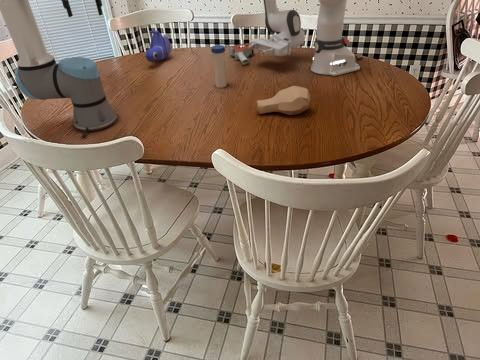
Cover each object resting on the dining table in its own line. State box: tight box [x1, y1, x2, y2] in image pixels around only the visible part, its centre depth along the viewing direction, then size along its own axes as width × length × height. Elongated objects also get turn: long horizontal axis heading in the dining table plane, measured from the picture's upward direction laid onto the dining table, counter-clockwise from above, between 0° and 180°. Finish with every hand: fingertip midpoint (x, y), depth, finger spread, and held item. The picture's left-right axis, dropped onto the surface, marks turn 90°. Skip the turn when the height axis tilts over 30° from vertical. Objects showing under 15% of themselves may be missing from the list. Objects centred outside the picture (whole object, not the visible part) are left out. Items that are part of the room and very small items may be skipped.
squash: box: [255, 85, 312, 116], centre depth 130 cm, size 11×20×9 cm, turn 92°
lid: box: [210, 44, 226, 54], centre depth 147 cm, size 6×6×2 cm
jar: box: [212, 51, 228, 89], centre depth 152 cm, size 5×5×16 cm
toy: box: [144, 30, 172, 67], centre depth 185 cm, size 10×17×25 cm
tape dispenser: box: [228, 42, 255, 66], centre depth 185 cm, size 18×5×20 cm
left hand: (85, 15), depth 157 cm, fingers open, 13 cm apart
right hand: (256, 50), depth 162 cm, fingers open, 8 cm apart
